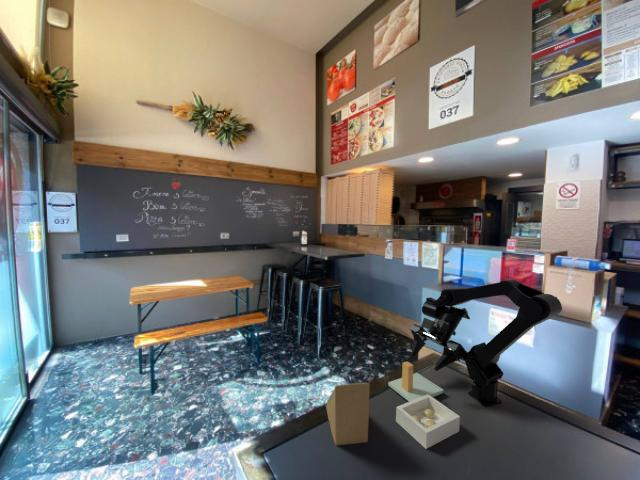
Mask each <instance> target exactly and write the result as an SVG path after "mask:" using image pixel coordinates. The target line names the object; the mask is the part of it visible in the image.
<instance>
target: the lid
mask: <svg viewBox="0 0 640 480" xmlns="http://www.w3.org/2000/svg"><path fill="white" fill-rule="evenodd" d="M401 365H402V371H401V377H400V378H397V379H394V380H391V381H388V383H387V384H388V387H390V388H391V389H392V390H394V391H395V392H396V393H398V394H399V395H400V396H401V397H402V398H404V399H405V400H407V402H410V401H412V400H415V399H417V398H420V397H422V396H425V395H427V394H428V395H430V396H431V397H433V398H435V397H437V396H439V395H442V394H443V393H444V389H443V388H442V387H440V386H438V385H436V384H435V383H434V382H432V381H431V380H429V379H427V378H426V377H425V376H424V375H421V374H420V373H418V372H415V373H414V364H412V363H411V362H409V361H403V362H402V364H401Z"/></svg>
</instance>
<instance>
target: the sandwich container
mask: <svg viewBox="0 0 640 480" xmlns="http://www.w3.org/2000/svg"><path fill="white" fill-rule="evenodd" d="M370 386H371V385H370V382H357V383H345V384H338V385H334V388H333V391H332V393H331V394H330V397H329V398H328V400H327V401H326V403H325V408H326V413H327V419H328V422H329V427H330V431H331V435H332V438H333V441H334V445H335V446H343V445H352V444H361V443H368V442H369V441H368V440H369V416H370V415H369V414H370ZM326 404H327V405H326Z"/></svg>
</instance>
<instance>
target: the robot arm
mask: <svg viewBox="0 0 640 480" xmlns="http://www.w3.org/2000/svg"><path fill="white" fill-rule="evenodd" d="M498 296H505V297H507V298H508V299H509V300H510V301H511V302H512V303H513V304H514V305H516V306H517V307H518V311H517V314H516V316H515V317H514V318H513V320H511V321H510V322H509V323H508V324H507V325H505V326H504V327H503V329H501V330H500V331H499V332H498V333H497V334H496V335H495V336H494V337H493V338H492V339H491V340H490V341H489V342H487V343H486V342H485V341H483V342H481V343H478V344H475V345H473V346H472V347H471V348H470V350H469V351H467V349H465V347H464V346H463V345H462V344H461V343H460V342H456V341H454V340H452V339H451V338H452V336H456V334H457V332H456V329H457V328H458V326H459V325H460V323H461V321H462V320H463V319H467V320H470V319H471V318H470V315H469V312H468V310H467V308H465V307H464V308H458V307H456V306H459V305H463V304H466V303H469V302H471V301H473V300H478V299H485V298H492V297H498ZM425 299H426V300H425V301H424V302H423V304H422V306H421V312H422V313H421V314H423V315H424V316H426V317H429V318H432V319H434V320H431V319H429V318H426V317H423V319H422V322H421V325H418V324H416V323H415V324H412V325H411V326H410V328H409V331H410V333H411V335H412V337H413V343H412V347H411V348H412V350H411V353H410V356H411V358H415V357H416V356H417V354H419V352H421V350H422V349H423V347H424V346H425V345H426V341H430V342H432V343H435V344H437V345H438V346H441V347H443V349H442V354H441V356H440V357H439V359H438V361H437V362H436V364H435V366H434V368H433V369H434V370H435V371H436V372H437V371H439V370H441V369H442V368H443V369H444V367H447V366H448V365H451V364H452V363H454V362H460V361H463V362H464V364H465V365H466V369H467V373H468V377H469V379H470V380H472V382H471V390H469V391H468V392H467V394H468V395H469V396H471V397H472V398H473V399H475V400H476V401H477V402H478V403H480V404H481V405H483V406H484V407H489V406H493V405H497V404H502V403H503V401H502V399H501V398H499V397H498V388H499V387H498V386H499V380H501V379H502V378H503V376H504V375H505V374H504V371H502V369H501V368H500V366H499V365H498V363H499V360H500V357H501V355H502V354H503V353H505V351H506V350H508V349H509V348H510V347H511V346H512V345H514V344H515V343H516V342H517V341H519V340H520V339H521V338H522V337H523V336H525V334H527V333H528V332H530V330H532V329H533V328H534V327H536V326H537V325H538V326H539V325H540V324H541V323H544V322H546V321H549V320H550V319H552V318H554V317H557V315H559V314H560V313H561V312H562V311H563V306H562V303H561V301H560V299H559V298H557V297H556V296H554V295H553V294H551V293H544V292H543V291H540V290H539V289H536V288H534V287H531V286H528V285H526V284H524V283H522V282H520V281H518V280H516V279H514V278H513V279H512V278H511V279H505V280H501V281H500V282H499V281H498V282H494V283H493V282H492V283H489V284H484V285H479V286H474V287H465V286H462V287H461V286H460V287H459V286H456V287H451V288H450V287H449V288H446V289H445V288H444V289H442V290H441V292H440V295H439V297H438V298H437V299H435V298H433V297H426V298H425ZM425 329H426V330H425Z"/></svg>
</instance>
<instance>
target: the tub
mask: <svg viewBox="0 0 640 480" xmlns="http://www.w3.org/2000/svg"><path fill="white" fill-rule="evenodd" d="M395 410H396V411H395V416H396V417H395V422H396V423H397V424H398V425H399V426H400V427H402V428H403V429H404V430H405V431H406V432H407V433H408V434H409V435H410V436H411V437H412V438H414V440H415V441H417V442H418V443H419V444H420V445H421V446H422V447H423V448H425V450H427V449H430V448H431V447H433V446H435V445H437V444H439V443H440V442H442V441H444V440H445V439H447V438H449V437H451V436H453V435H455V434H457V433H460V423H461V419H460V418H461V415H459V414H457V413H456V412H454V411H453V410H451V409H449V407H447V406H445V405H444V404H443V403H441V402H440V401H439V400H437V399H436V398H435V397H431V396H430V395H428V394H427V395H425V396H422V397H420V398H417V399H415V400H412V401H410V402H409V401H407V402H405V403H403V404H400V405H398V406H396V409H395Z"/></svg>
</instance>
